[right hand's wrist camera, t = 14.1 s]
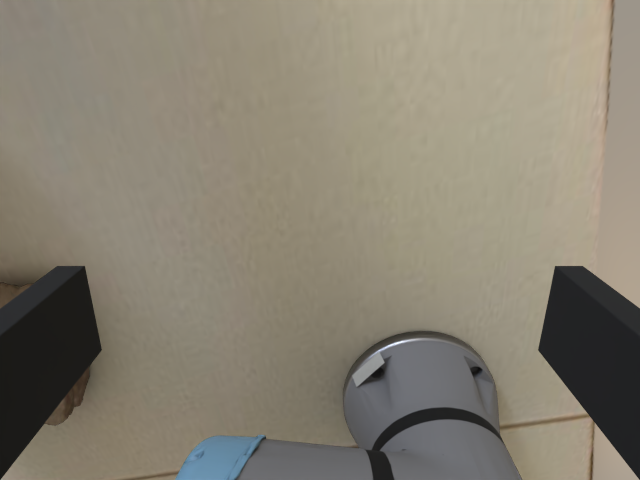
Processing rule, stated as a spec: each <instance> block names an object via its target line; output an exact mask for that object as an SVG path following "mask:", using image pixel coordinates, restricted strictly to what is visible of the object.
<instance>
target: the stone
mask: <svg viewBox="0 0 640 480" xmlns="http://www.w3.org/2000/svg"><path fill="white" fill-rule="evenodd" d="M33 284H34V283H33ZM33 284H26V285H24V286H21V287H19V286H15V285H8V284H5V283H0V308H2V307H3V306H4V305H6V304H7V303H8V302H10V301H11V300H12V299H14V298H15V297H16V296H18V295H19V294H20V293H22V292H23V291H25V290H26V289H27V288H29V287H30V286H31V285H33ZM88 379H89V367H88V368H87V370H86V371H85V372H84V373H83V375H82V376H81V377H80V378H79V380H78V381H77V382H76V384H75V385H74V386H73V387H72V389H71V390H70V391H69V393H68V394H67V395H66V396H65V398H64V399H63V400H62V402H61V403H60V404H59V405H58V407H57V408H56V409H55V410H54V412H53V413H52V414H51V416H50V417H49V418H48V419H47V421H46V422H45V423H44V424H48V425H58V424H60V423H62V422H64V421H65V420H66V419H67V418H68V416H69V415H71V413H72V411H73V408H74V407H76V406H80V404H81V402H82V401H83V395H84V392H85V388H86V385H87V382H88Z"/></svg>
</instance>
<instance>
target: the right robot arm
mask: <svg viewBox="0 0 640 480" xmlns="http://www.w3.org/2000/svg"><path fill="white" fill-rule="evenodd" d="M101 350H102V349H101V344H100V339H99V334H98V329H97V324H96V319H95V314H94V309H93V304H92V300H91V295H90V290H89V285H88V280H87V275H86V270H85V266H57V267H55V268H54V269H53V270H51V271H50V272H49V273H47V274H46V275H45V276H43V277H42V278H41V279H39V280H38V281H37V282H35V283H34V284H33V285H31V286H30V287H29V288H27V289H26V290H25V291H23V292H22V293H20V294H19V295H18V296H16V297H15V298H14V299H12V300H11V301H10V302H8V303H7V304H6V305H4V306H3V307H2V308H0V480H1V478H2V477H3V476H4V474H5V473H6V472H7V471H8V469H9V468H10V467H11V465H12V464H13V463H14V462H15V460H16V459H17V458H18V456H19V455H20V454H21V453H22V451H23V450H24V449H25V448H26V446H27V445H28V444H29V442H30V441H31V440H32V439H33V437H34V436H35V435H36V433H37V432H38V431H39V430H40V428H41V427H42V426H43V425H44V423H45V422H46V421H47V419H48V418H49V417H50V416H51V414H52V413H53V412H54V410H55V409H56V408H57V407H58V405H59V404H60V403H61V402H62V400H63V399H64V398H65V396H66V395H67V394H68V393H69V391H70V390H71V389H72V387H73V386H74V385H75V384H76V382H77V381H78V380H79V378H80V377H81V376H82V375H83V373H84V372H85V371H86V370H87V368H88V367H89V366H90V364H91V363H92V362H93V361H94V359H95V358H96V357H97V355H98V354H99V353H100V352H101ZM538 350H539V352H540V353H541V354H542V355H543V357H544V358H545V359H546V361H547V362H548V363H549V364H550V366H551V367H552V368H553V370H554V371H555V372H556V373H557V375H558V376H559V377H560V378H561V380H562V381H563V382H564V384H565V385H566V386H567V387H568V389H569V390H570V391H571V393H572V394H573V395H574V396H575V398H576V399H577V400H578V402H579V403H580V404H581V405H582V407H583V408H584V409H585V410H586V412H587V413H588V414H589V416H590V417H591V418H592V419H593V421H594V422H595V423H596V425H597V426H598V427H599V428H600V430H601V431H602V432H603V433H604V435H605V436H606V437H607V439H608V440H609V441H610V442H611V444H612V445H613V446H614V447H615V449H616V450H617V451H618V453H619V454H620V455H621V456H622V458H623V459H624V460H625V462H626V463H627V464H628V465H629V467H630V468H631V469H632V471H633V472H634V473H635V474H636V476H637V477H638V478H639V480H640V308H638V307H637V306H636V305H634V304H633V303H632V302H630V301H629V300H627V299H626V298H625V297H624V296H622V295H621V294H619V293H618V292H617V291H615V290H614V289H613V288H611V287H610V286H609V285H607V284H606V283H605V282H603V281H602V280H601V279H599V278H598V277H597V276H595V275H594V274H593V273H591V272H590V271H589V270H587V269H586V268H585V267H583V266H555V270H554V275H553V280H552V285H551V290H550V295H549V300H548V304H547V309H546V314H545V319H544V324H543V329H542V334H541V339H540V344H539V349H538ZM343 404H344V414H345V419H346V422H347V425H348V428H349V430H350V432H351V434H352V436H353V438H354V440H355V441H356V443H357V445H358V447H359V448H350V447H340V446H330V445H320V444H310V443H300V442H290V441H280V440H270V439H266V436H265V435H258V436H257V437H240V436H213V437H210V438H207V439H205V440H204V441H202V442H201V443H199V444H198V445H197V446H196V447H195V448H194V449H193V451H192V452H191V453H190V454H189V456H188V457H187V459H186V460H185V462H184V464H183V466H182V467H181V469H180V471H179V473H178V475H177V477H176V479H175V480H522V478H521V476H520V474H519V472H518V470H517V468H516V466H515V464H514V462H513V460H512V458H511V456H510V454H509V452H508V450H507V448H506V446H505V444H504V442H503V440H502V438H501V436H500V428H499V414H498V400H497V391H496V387H495V383H494V380H493V377H492V375H491V373H490V371H489V370H488V368H487V366H486V364H485V363H484V361H483V359H482V358H481V357H480V355H479V354H478V353H477V352H476V351H475V350H474V349H473V348H472V347H470V346H469V345H468V344H466V343H465V342H463V341H461V340H459V339H457V338H455V337H452V336H449V335H446V334H442V333H437V332H429V331H417V332H408V333H403V334H399V335H395V336H392V337H390V338H387V339H385V340H383V341H381V342H379V343H377V344H375V345H374V346H372V347H371V348H369V349H368V350H367V351H366V352H365V353H363V354H362V355H361V356H360V357H359V358H358V360H357V361H356V362H355V363H354V365H353V366H352V368H351V369H350V371H349V373H348V375H347V378H346V381H345V384H344V389H343Z"/></svg>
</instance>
